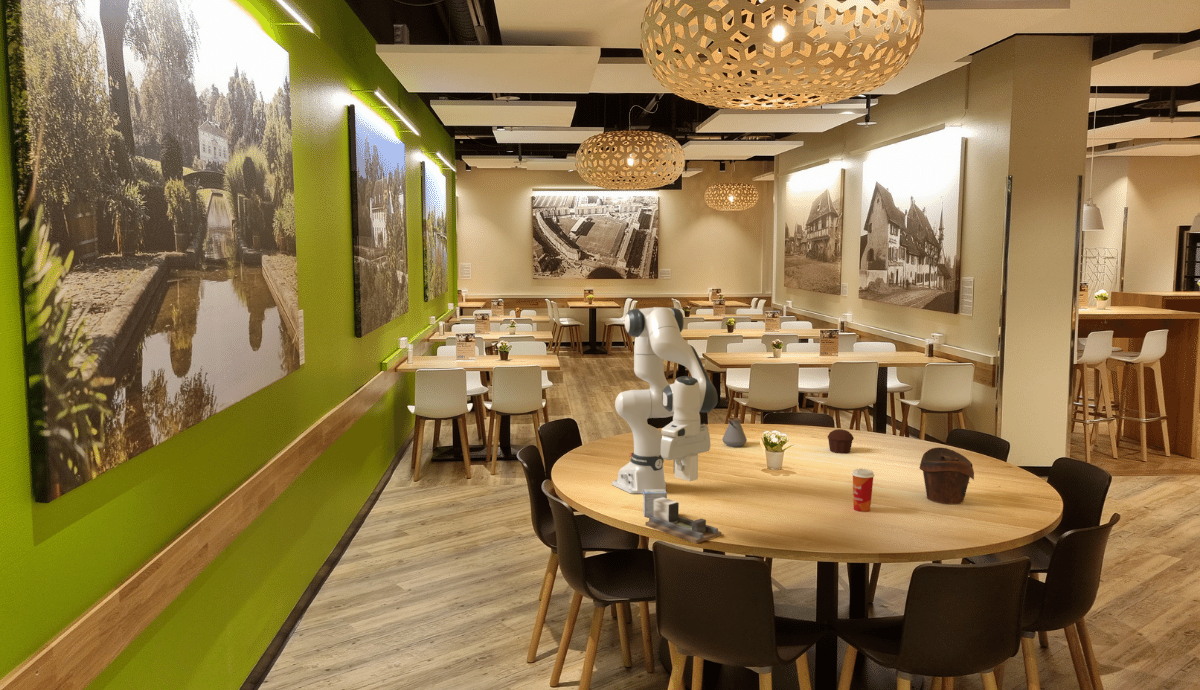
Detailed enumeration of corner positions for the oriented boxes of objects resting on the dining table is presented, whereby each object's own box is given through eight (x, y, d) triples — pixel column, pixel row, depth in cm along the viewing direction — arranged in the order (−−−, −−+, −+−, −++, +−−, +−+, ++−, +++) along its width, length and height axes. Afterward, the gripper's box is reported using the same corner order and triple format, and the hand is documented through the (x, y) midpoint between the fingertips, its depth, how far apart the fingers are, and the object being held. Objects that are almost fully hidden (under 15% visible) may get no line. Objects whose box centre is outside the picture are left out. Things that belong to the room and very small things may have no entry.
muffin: (823, 452, 373) (824, 430, 372) (831, 447, 382) (832, 426, 381) (849, 455, 366) (849, 433, 365) (856, 450, 375) (857, 429, 374)
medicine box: (665, 512, 286) (665, 489, 285) (667, 517, 281) (667, 492, 280) (643, 513, 285) (643, 489, 284) (644, 517, 281) (644, 492, 280)
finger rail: (645, 525, 273) (645, 502, 272) (670, 517, 280) (670, 495, 279) (696, 543, 255) (696, 518, 254) (721, 534, 263) (721, 511, 262)
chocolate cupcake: (954, 510, 288) (957, 461, 286) (906, 496, 304) (909, 449, 303) (984, 503, 297) (987, 455, 295) (936, 490, 314) (939, 444, 312)
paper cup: (847, 505, 293) (849, 468, 292) (869, 506, 293) (870, 468, 291) (853, 512, 286) (855, 474, 284) (876, 513, 285) (877, 474, 284)
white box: (690, 481, 261) (690, 457, 260) (673, 476, 267) (673, 452, 266) (697, 479, 264) (698, 455, 263) (680, 474, 269) (680, 451, 268)
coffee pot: (724, 441, 393) (725, 411, 391) (748, 443, 389) (749, 412, 387) (716, 452, 373) (716, 419, 371) (741, 454, 369) (741, 421, 367)
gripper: (700, 421, 272) (700, 461, 274) (657, 430, 259) (657, 472, 260) (715, 424, 268) (714, 465, 269) (671, 433, 254) (671, 476, 256)
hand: (686, 468), depth 265 cm, fingers closed on white box, 4 cm apart
